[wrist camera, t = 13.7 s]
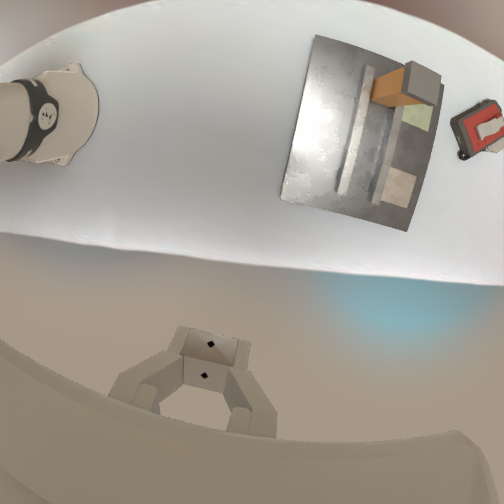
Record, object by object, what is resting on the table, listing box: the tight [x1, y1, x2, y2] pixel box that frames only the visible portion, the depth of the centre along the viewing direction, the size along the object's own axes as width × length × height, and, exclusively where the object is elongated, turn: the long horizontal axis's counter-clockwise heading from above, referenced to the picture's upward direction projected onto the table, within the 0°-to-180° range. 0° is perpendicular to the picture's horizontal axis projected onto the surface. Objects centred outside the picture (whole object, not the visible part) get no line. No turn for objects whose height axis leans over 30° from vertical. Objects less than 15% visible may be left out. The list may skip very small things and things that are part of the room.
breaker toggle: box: [369, 61, 441, 107], centre depth 24 cm, size 3×3×13 cm
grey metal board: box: [280, 35, 444, 232], centre depth 32 cm, size 20×24×4 cm
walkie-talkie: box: [450, 99, 504, 160], centre depth 28 cm, size 9×4×20 cm
